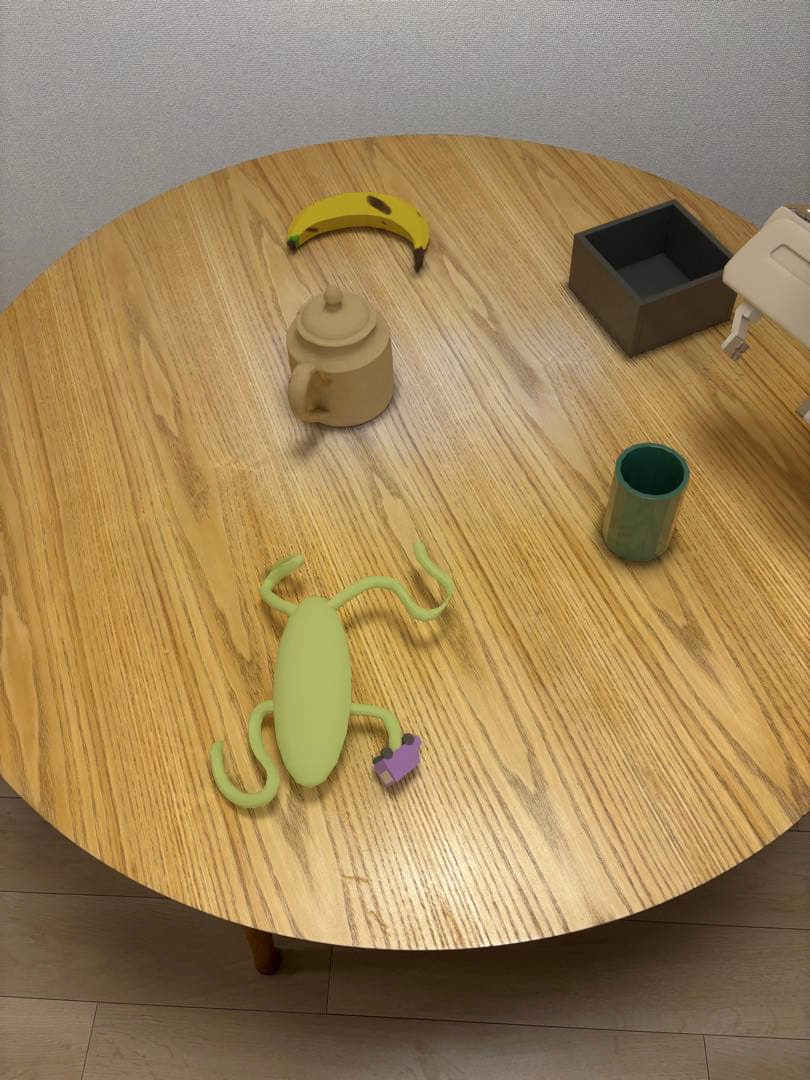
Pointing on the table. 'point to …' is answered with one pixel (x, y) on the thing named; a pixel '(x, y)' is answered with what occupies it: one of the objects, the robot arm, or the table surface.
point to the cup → (644, 501)
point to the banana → (361, 219)
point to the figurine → (322, 688)
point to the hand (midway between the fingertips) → (764, 386)
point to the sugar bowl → (339, 360)
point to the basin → (652, 276)
